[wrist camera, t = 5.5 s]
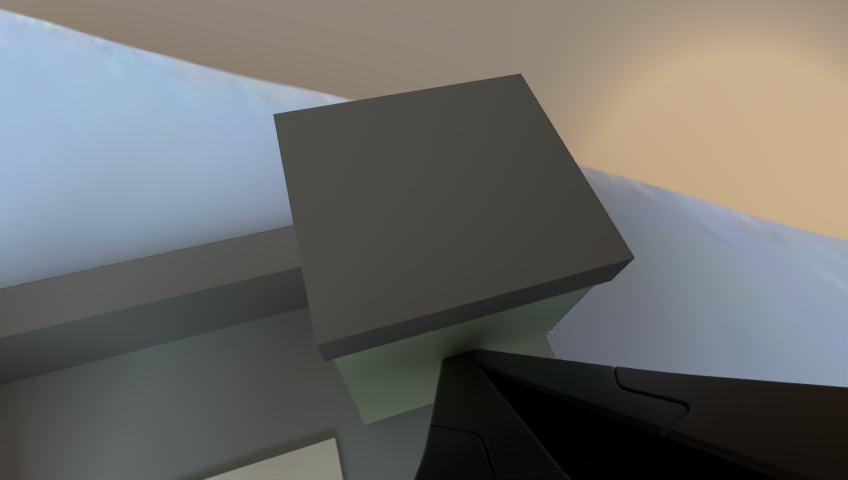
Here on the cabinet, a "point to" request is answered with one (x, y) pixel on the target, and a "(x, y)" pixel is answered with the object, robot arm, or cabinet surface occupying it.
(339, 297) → the sage block
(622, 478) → the robot arm
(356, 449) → the switch board
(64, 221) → the cabinet surface
